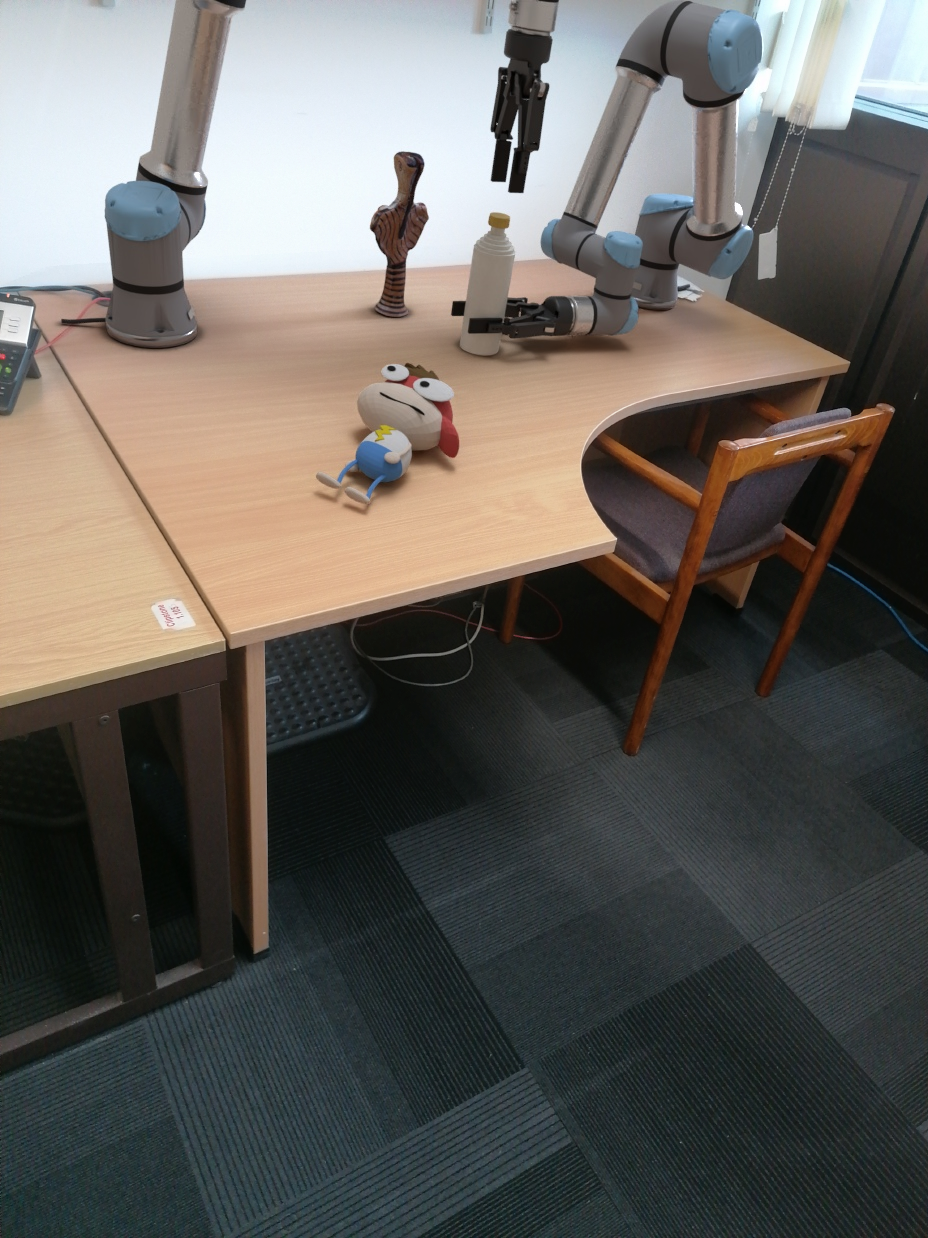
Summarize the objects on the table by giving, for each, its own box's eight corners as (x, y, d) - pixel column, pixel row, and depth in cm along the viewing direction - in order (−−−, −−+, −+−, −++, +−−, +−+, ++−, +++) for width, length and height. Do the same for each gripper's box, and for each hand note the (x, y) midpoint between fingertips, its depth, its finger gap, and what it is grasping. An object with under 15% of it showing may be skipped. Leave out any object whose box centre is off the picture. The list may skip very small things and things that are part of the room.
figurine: (401, 297, 189) (416, 141, 170) (429, 309, 186) (448, 152, 167) (355, 312, 178) (365, 148, 160) (384, 324, 175) (398, 159, 157)
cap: (511, 229, 159) (513, 219, 158) (491, 227, 158) (493, 217, 157) (504, 222, 162) (506, 212, 161) (485, 221, 161) (486, 211, 159)
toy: (278, 428, 121) (396, 343, 140) (277, 485, 128) (389, 398, 148) (391, 486, 117) (497, 391, 136) (384, 542, 124) (485, 444, 143)
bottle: (503, 355, 172) (526, 225, 157) (466, 355, 170) (486, 223, 155) (491, 339, 178) (512, 212, 163) (454, 338, 175) (472, 209, 160)
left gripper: (483, 18, 146) (464, 171, 161) (538, 38, 133) (513, 202, 148) (522, 23, 149) (501, 172, 164) (580, 43, 137) (551, 203, 151)
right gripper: (585, 355, 172) (479, 358, 164) (539, 314, 186) (438, 315, 178) (594, 317, 168) (485, 318, 159) (546, 278, 182) (443, 277, 173)
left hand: (506, 186), depth 156 cm, fingers open, 6 cm apart
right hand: (461, 316), depth 168 cm, fingers closed on bottle, 8 cm apart
